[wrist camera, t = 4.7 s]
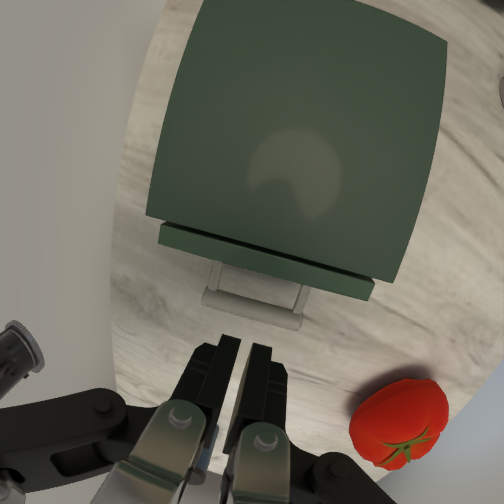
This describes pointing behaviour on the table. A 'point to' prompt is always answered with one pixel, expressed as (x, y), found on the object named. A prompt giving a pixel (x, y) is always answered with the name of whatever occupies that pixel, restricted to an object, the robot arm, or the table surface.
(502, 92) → the bottle
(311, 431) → the table surface
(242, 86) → the cabinet
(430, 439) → the tomato
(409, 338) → the table surface
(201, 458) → the plastic container
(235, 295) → the drawer
